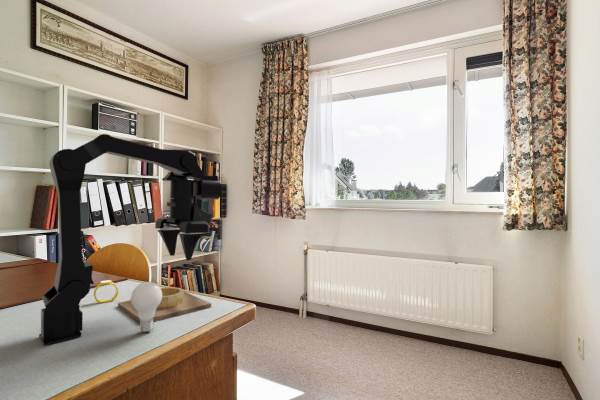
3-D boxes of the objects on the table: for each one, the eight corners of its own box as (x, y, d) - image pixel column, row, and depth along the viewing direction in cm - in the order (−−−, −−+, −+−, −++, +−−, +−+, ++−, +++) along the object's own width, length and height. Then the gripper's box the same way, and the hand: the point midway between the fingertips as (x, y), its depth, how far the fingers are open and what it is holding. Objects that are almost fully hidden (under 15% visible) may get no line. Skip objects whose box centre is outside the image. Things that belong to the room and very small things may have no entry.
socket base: (142, 324, 77) (142, 320, 77) (117, 306, 90) (117, 302, 90) (211, 306, 90) (211, 303, 90) (181, 293, 103) (181, 290, 103)
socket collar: (153, 311, 83) (153, 299, 83) (139, 302, 90) (139, 291, 90) (189, 303, 90) (189, 292, 90) (173, 295, 97) (174, 285, 97)
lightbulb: (124, 334, 72) (124, 283, 72) (149, 324, 77) (149, 277, 77) (143, 340, 69) (143, 287, 69) (168, 329, 74) (168, 280, 74)
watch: (94, 305, 91) (93, 284, 91) (94, 303, 93) (92, 282, 93) (119, 300, 95) (117, 280, 94) (117, 298, 97) (116, 278, 97)
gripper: (227, 199, 87) (226, 259, 86) (192, 199, 99) (191, 250, 99) (187, 198, 79) (186, 264, 78) (155, 198, 91) (153, 254, 91)
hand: (180, 257), depth 87 cm, fingers open, 9 cm apart
